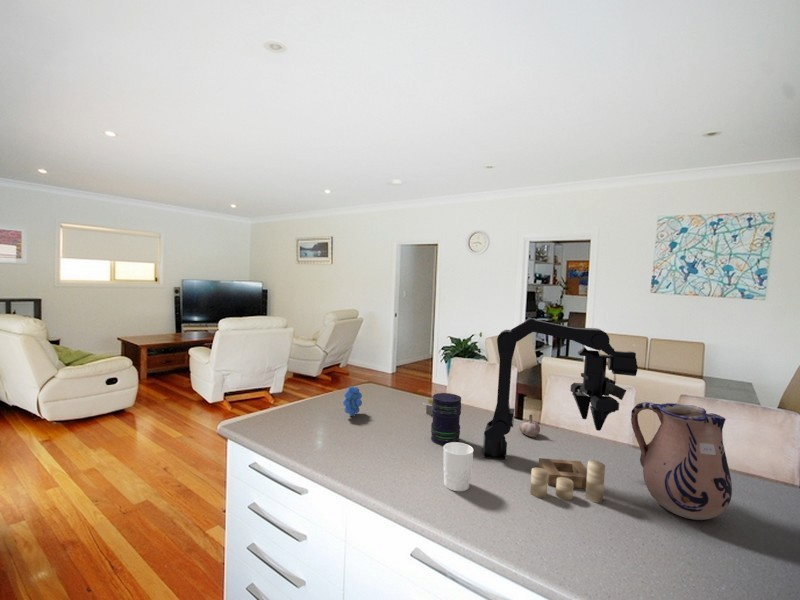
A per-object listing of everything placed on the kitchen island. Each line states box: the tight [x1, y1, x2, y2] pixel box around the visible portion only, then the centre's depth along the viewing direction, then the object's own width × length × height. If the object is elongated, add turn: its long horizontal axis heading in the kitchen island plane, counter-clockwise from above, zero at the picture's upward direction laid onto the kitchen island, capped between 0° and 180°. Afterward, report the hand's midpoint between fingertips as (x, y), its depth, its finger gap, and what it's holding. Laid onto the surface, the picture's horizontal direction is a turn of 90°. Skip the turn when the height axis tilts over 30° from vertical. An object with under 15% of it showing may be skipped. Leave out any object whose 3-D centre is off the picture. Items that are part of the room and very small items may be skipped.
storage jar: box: [430, 392, 462, 447], centre depth 133 cm, size 10×10×15 cm
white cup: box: [442, 441, 475, 492], centre depth 104 cm, size 8×8×10 cm
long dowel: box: [585, 460, 606, 504], centre depth 100 cm, size 4×4×9 cm
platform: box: [423, 398, 433, 417], centre depth 159 cm, size 12×18×7 cm, turn 56°
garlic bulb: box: [518, 413, 541, 438], centre depth 142 cm, size 8×7×8 cm
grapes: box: [342, 386, 363, 417], centre depth 153 cm, size 12×7×12 cm, turn 153°
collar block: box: [537, 457, 587, 489], centre depth 110 cm, size 12×10×3 cm
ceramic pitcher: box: [630, 401, 733, 521], centre depth 97 cm, size 18×21×25 cm
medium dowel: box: [529, 467, 548, 499], centre depth 101 cm, size 4×4×6 cm
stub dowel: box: [555, 477, 574, 501], centre depth 101 cm, size 4×4×4 cm
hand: (591, 424), depth 114 cm, fingers open, 9 cm apart
